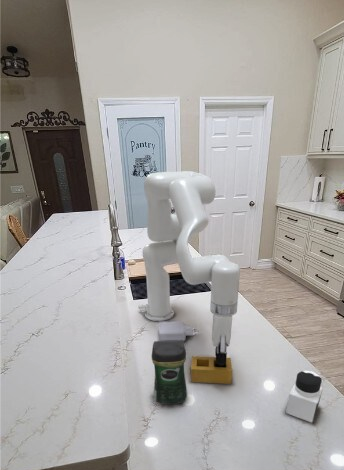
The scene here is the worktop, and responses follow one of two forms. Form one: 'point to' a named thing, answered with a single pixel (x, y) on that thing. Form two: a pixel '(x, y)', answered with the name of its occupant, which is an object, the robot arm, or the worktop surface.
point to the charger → (174, 331)
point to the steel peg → (219, 364)
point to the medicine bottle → (305, 396)
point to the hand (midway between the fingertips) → (220, 359)
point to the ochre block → (210, 370)
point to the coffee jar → (169, 371)
